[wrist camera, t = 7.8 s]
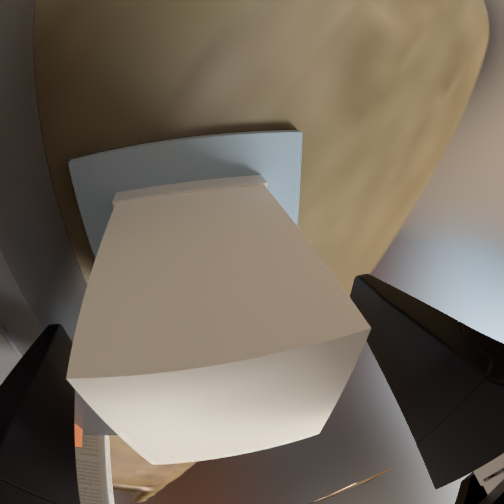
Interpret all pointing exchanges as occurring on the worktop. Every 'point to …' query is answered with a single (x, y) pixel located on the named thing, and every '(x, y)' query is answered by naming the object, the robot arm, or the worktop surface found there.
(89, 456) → the skincare box
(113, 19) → the worktop surface
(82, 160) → the mat
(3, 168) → the gray recessed block
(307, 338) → the block
